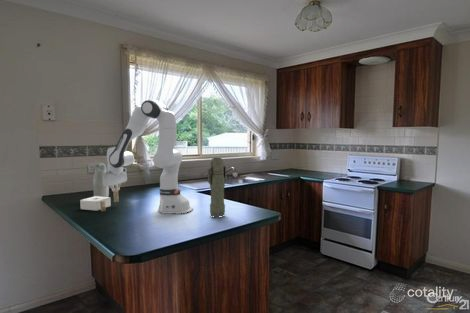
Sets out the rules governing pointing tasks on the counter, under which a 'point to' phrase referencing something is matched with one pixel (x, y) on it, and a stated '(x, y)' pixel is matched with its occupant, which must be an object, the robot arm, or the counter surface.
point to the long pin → (116, 193)
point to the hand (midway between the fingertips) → (115, 190)
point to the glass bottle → (100, 181)
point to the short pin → (103, 206)
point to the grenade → (217, 186)
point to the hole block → (94, 203)
